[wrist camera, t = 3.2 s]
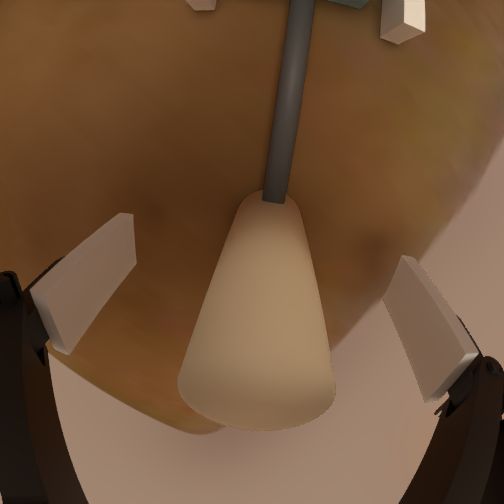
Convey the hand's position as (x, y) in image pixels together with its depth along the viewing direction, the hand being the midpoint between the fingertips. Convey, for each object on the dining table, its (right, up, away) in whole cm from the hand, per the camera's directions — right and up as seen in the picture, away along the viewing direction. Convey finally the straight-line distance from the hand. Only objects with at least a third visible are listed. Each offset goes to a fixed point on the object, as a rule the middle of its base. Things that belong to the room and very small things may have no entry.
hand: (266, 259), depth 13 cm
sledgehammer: (+2, +11, 0) cm, 11 cm away
